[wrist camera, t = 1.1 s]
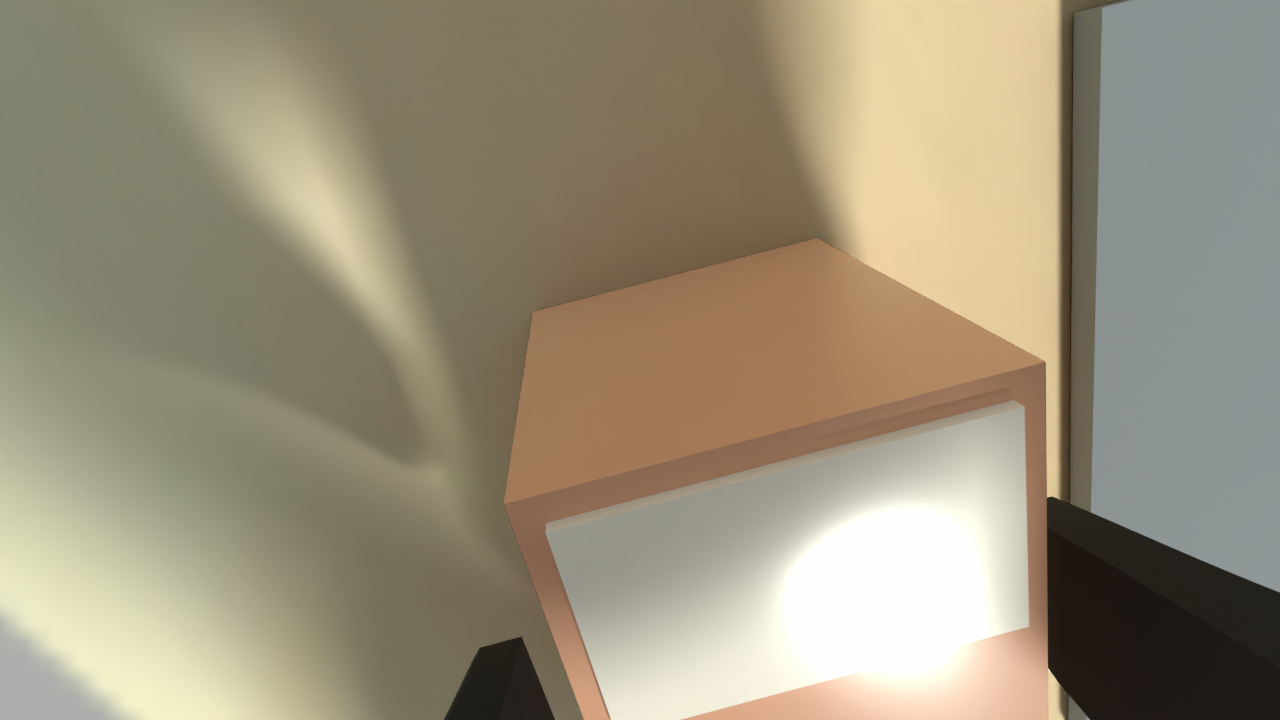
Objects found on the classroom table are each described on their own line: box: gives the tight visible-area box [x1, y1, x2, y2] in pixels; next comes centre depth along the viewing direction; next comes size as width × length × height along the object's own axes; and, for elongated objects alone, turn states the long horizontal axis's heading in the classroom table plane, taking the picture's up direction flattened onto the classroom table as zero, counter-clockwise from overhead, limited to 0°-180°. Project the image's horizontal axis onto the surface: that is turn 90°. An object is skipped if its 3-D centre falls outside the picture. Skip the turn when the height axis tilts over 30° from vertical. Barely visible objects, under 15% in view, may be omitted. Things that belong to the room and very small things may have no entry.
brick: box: [504, 238, 1048, 720], centre depth 10 cm, size 9×5×6 cm, turn 13°
